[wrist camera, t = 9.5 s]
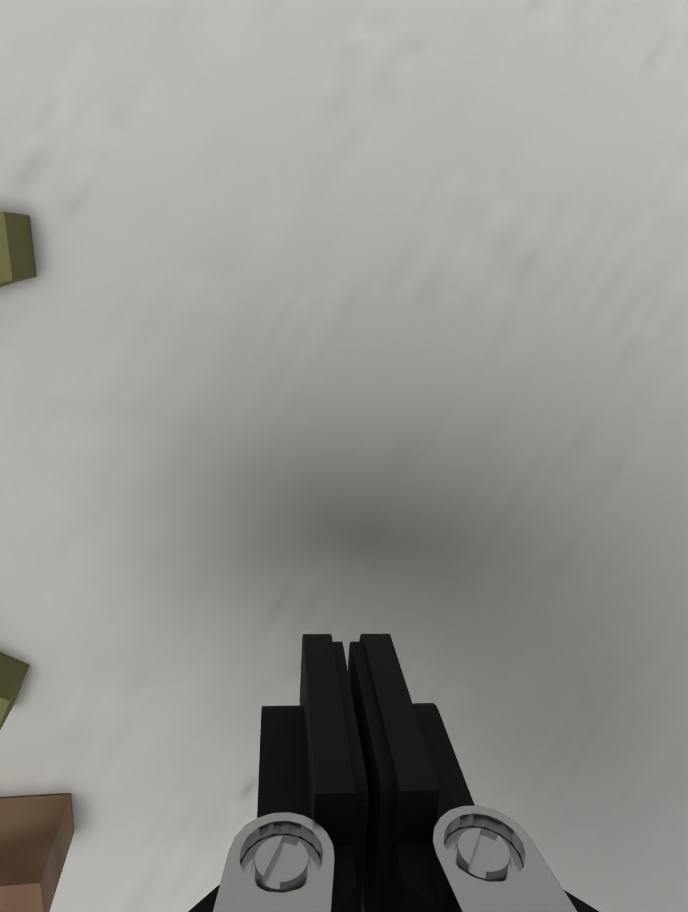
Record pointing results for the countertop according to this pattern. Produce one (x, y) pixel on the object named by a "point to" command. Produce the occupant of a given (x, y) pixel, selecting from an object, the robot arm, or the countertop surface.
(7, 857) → the walnut fence
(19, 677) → the cookie cutter
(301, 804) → the robot arm
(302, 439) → the countertop surface
